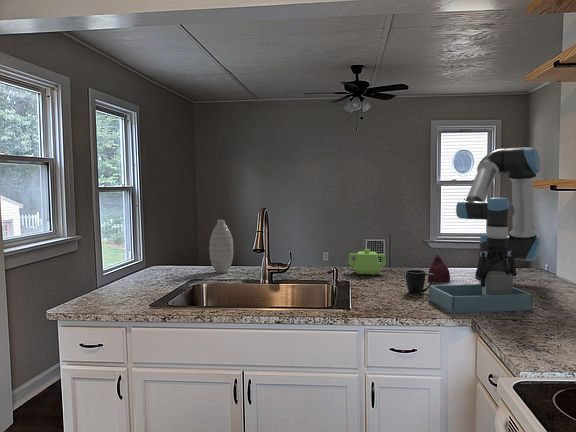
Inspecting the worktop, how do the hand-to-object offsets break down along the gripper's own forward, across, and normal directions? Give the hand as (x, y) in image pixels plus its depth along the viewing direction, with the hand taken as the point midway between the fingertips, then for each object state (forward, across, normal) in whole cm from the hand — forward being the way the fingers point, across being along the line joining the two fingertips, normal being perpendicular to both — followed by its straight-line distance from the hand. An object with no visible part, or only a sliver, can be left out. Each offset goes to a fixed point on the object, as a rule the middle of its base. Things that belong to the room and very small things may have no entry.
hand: (495, 294), depth 187 cm
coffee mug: (+2, -1, 0) cm, 2 cm away
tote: (+4, +7, 0) cm, 8 cm away
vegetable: (+4, +2, -46) cm, 46 cm away
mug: (+4, +22, -22) cm, 31 cm away
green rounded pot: (+4, +31, -71) cm, 78 cm away
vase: (+4, +108, -83) cm, 136 cm away
